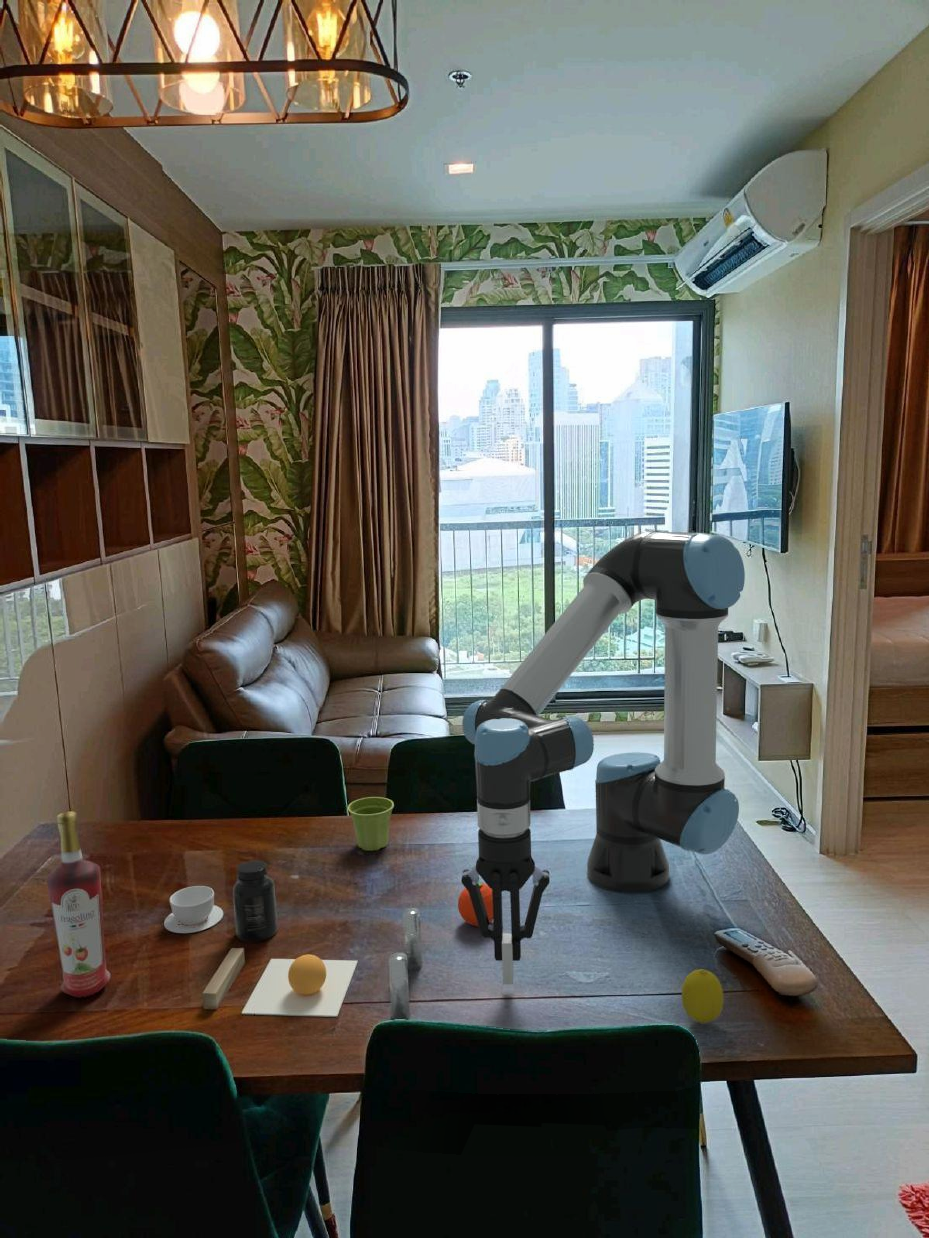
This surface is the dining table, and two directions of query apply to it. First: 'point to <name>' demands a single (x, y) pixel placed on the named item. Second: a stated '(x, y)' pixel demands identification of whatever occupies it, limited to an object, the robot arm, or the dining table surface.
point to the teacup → (192, 910)
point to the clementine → (467, 907)
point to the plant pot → (371, 821)
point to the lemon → (702, 996)
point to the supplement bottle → (254, 903)
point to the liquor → (77, 914)
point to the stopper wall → (223, 978)
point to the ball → (307, 974)
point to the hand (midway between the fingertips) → (508, 978)
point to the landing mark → (283, 1000)
